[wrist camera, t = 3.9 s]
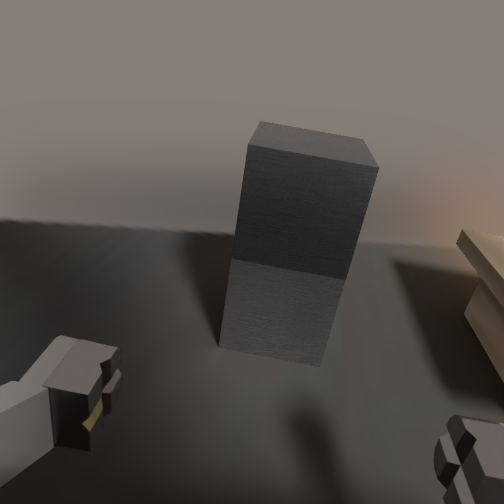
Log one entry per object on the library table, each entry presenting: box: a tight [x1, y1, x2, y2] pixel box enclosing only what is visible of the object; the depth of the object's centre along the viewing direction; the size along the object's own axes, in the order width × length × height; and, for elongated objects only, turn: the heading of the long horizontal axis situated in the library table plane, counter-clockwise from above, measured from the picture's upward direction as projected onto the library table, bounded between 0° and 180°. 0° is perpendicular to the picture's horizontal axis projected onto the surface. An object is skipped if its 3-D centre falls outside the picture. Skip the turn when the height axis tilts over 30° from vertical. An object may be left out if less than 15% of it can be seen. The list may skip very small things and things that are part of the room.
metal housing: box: [219, 121, 379, 367], centre depth 20 cm, size 5×5×10 cm
